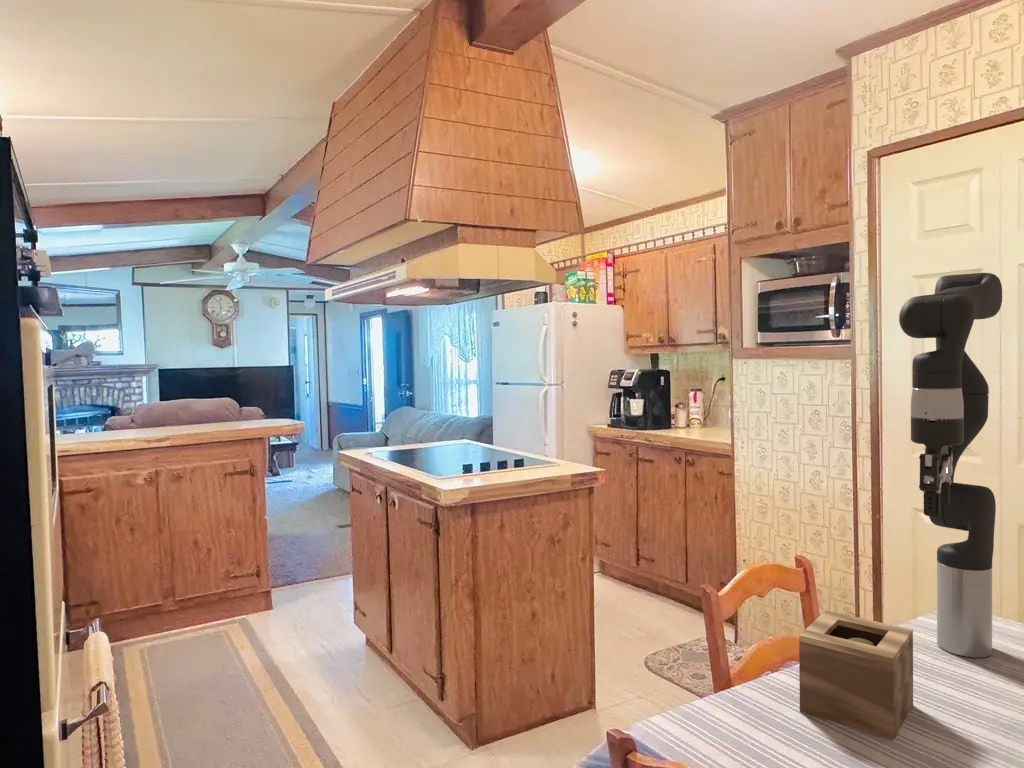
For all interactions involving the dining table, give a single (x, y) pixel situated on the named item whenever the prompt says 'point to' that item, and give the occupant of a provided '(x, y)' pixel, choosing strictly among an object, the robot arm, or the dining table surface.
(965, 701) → the dining table surface
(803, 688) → the walnut box
